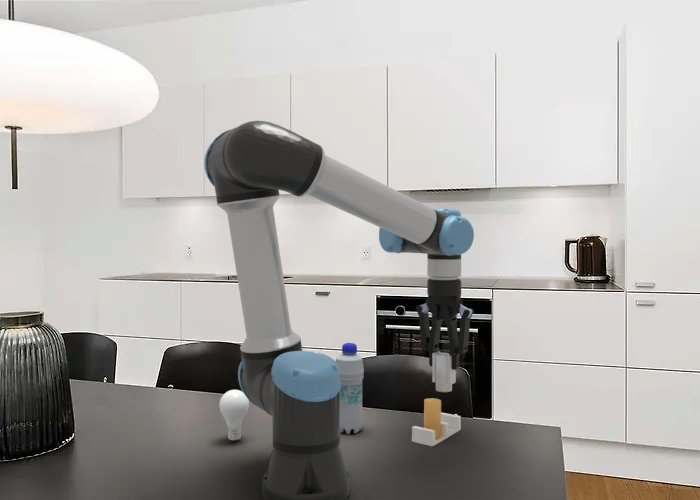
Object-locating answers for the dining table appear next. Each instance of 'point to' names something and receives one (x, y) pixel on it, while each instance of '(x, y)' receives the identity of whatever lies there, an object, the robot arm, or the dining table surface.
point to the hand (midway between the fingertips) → (443, 382)
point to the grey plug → (442, 373)
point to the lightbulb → (234, 411)
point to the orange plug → (432, 415)
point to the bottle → (350, 388)
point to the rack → (427, 436)
